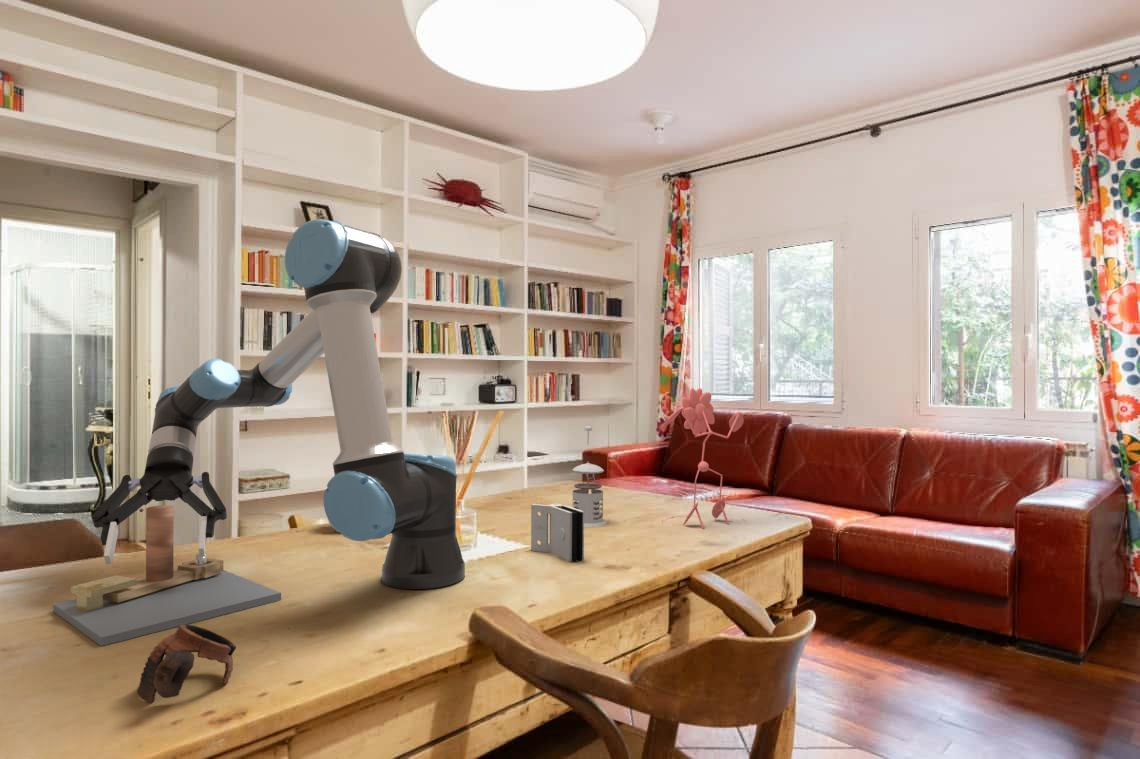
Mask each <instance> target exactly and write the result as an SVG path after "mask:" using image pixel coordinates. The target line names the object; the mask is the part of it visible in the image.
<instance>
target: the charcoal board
mask: <svg viewBox="0 0 1140 759" xmlns="http://www.w3.org/2000/svg"><path fill="white" fill-rule="evenodd" d="M281 600H282V592H280V591H278V590H276V589H273V588H270V587H268V586H265V585H263V584H260V583H257V582H256V581H252V580H250V579H247V578H246V577H242V576H240V575H238V574H235V573H232V572H231V571H227V570H225V569H223V572H220V574H217V575H214V576H211V577H207V578H200V579H197V580H191V581H187V582H184V583H181V584H178V585H174V586H171V587H168V588H165V589H161V590H158V591H155V592H151V593H148V594H145V595H142V596H138V597H135V598H132V599H128V600H125V601H122V602H119V603H116V602H111V601H106V600H103V607H102V608H98V609H95V610H92V611H88V612H84V611H80V610H77V598H75V599H69V600H65V601H60V602H59V601H58V602H55V603H53V604H52V610H53V611H52V612H53V613H54V614H56V615H58V617H60V616H61V617H60V618H61V619H65V620H64V621H66V622H67V621H68V624H70V625H71V626H73V627H74V628H75V629H77V630H79V632H81V633H82V634H83V635H85V636H87V637H88V638H90V639H91V640H92V641H93V642H95V643H96V644H98V645H99V646H101V647H103V646H107V645H111V644H112V645H113V644H115V643H118V642H122V641H123V642H124V641H127V640H130V639H134V638H138V637H142V636H146V635H150V634H153V633H157V632H161V631H165V630H170V629H173V628H176V627H178V628H179V626H180V625H182V624H187V625H190V624H193V623H196V622H200V621H204V620H209V619H212V618H216V617H220V616H223V615H228V614H231V613H232V614H233V613H235V612H239V611H243V610H246V609H251V608H255V607H258V606H262V605H263V606H264V605H267V604H271V603H276V602H278V601H281Z"/></svg>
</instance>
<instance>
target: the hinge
mask: <svg viewBox="0 0 1140 759" xmlns="http://www.w3.org/2000/svg"><path fill="white" fill-rule="evenodd" d="M530 507H531V510H530V514H531V515H530V524H531V525H530V551H531V552H539V553H540V552H541V553H549V554H550V553H551V554H552V555H554V556H556V557H559V558H561V559H563V560H565V561H567V562H569V563H570V562H571V563H572V562H573V563H577V562H583V561H584V560H585V542H584V541H585V527H584V511H582V510H579V509H576V508H573V506H569V505H563V504H561V503H551V504H539V503H532V504H531V506H530ZM539 513H540V515H538V514H539ZM538 541H539V542H540V543H538Z"/></svg>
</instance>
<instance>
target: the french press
mask: <svg viewBox="0 0 1140 759" xmlns="http://www.w3.org/2000/svg"><path fill="white" fill-rule="evenodd" d="M592 428H593V427H591V426H590V425H586V426H585V427H584V431H586V432H587V444H589V436H590V435H589V434H590V431H593V430H592ZM571 471H573V472H574V473H575V474H583V475H586V478H587V479H586V480H587V482H583V483H582V482H581V483H580V482H579V483H576V484H573V486H574V488H575V490H572V508H576V509H579V510H582V511H584V528H599V527H603V526H606V525H607V524H608V523H607V522H606V520H605V519H604V491H603V490H601V488H603V486H602V484H600V483H596V479H595V474H601V473H604V472H605V470H604V468H602V467H601V466H599V465H597V464H593V463H590V462H586V463H582V464H579V465H577V466H575V467H573V469H572V470H571ZM589 474H590V475H592V477H589ZM591 479H593V483H590V480H591ZM589 491H591V492H590V493H589Z"/></svg>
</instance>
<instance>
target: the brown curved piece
mask: <svg viewBox="0 0 1140 759" xmlns="http://www.w3.org/2000/svg"><path fill="white" fill-rule="evenodd" d="M235 650H237V646H236V645H235V643H233V642H232V641H231V640H229V639H228V638H226V637H224V636H222V635H220V634H218V633H216V632H213V631H211V630H209V629H207V628H204V627H201V626H197V625H192V624H182V625H180V626H178V628H177V630H176V632H175V633H172V634H170V635H168V636H167V637H165V638H163V639H162V640H160V641H159V642H158V643H157V645H156V646H155V647H154V648H153V650H152V651H151V652H150V653H149V656H148V658H147V661H146V662H145V663H144V664H145V665H144V667H143V670H142V673H141V674H140V675H141V677H140V681H139V685H138V687H137V689H136V690H137V694H138V696H139V697H140V698H141V699H142V700H144V701H146V702H147V703H150V704H153V703H154V701H155V700H156V699H155V698H156V694H158V695H159V696H160V697H161V698H164V699H166V698H169V699H170V698H173V697H178V696H179V695H180V692H181V690H182V688H183V685H184V682H185V679H187V677H188V676H189V674H190V672H191V670H192V669H193V667H194V662H195V654H194V653H197V657H198V658H202V659H206V660H208V661H217V662H218V663H222V664H224V668H225V669H224V674H223V677H222V679H221V682H222V684H224V685H226V684H227V683H229V680H230V679H231V678H230V677H232V672H233V670H234V668H233V665H234V662H233V656H232V655H233V654H234V652H235Z"/></svg>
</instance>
